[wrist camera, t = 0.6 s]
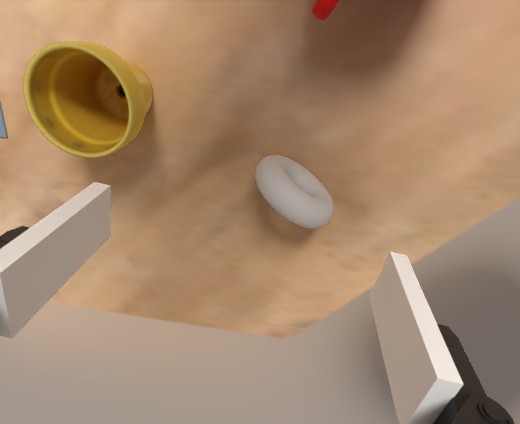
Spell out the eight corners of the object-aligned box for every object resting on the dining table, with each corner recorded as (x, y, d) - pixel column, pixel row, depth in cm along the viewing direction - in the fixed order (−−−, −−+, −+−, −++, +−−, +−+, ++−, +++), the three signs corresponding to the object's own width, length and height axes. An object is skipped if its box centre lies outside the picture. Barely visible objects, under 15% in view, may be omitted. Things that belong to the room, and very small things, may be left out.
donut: (254, 160, 43) (241, 193, 34) (271, 138, 41) (262, 166, 32) (318, 207, 45) (321, 250, 36) (337, 188, 43) (345, 227, 34)
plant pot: (133, 20, 37) (80, 16, 29) (186, 109, 41) (154, 129, 32) (64, 70, 41) (-2, 79, 32) (119, 148, 44) (73, 176, 36)
